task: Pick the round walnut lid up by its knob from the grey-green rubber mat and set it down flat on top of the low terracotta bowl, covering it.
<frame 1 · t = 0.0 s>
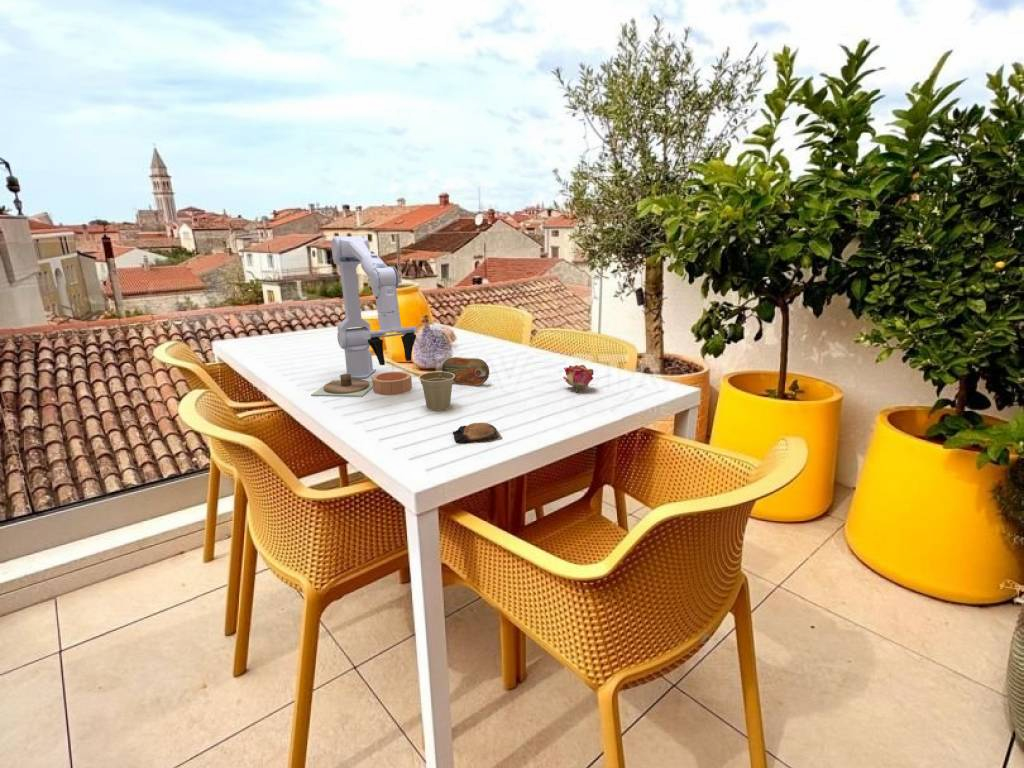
hand: (395, 362, 135), 11 cm above the table, tool pointing down, fingers open, 7 cm apart
rubber mat: (346, 388, 148), on the table
tin: (466, 384, 153), on the table
terracotta bowl: (392, 389, 147), on the table
walnut lid: (346, 381, 148), on the rubber mat
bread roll: (477, 438, 113), on the table
flower: (577, 390, 147), on the table
flower pot: (438, 408, 132), on the table
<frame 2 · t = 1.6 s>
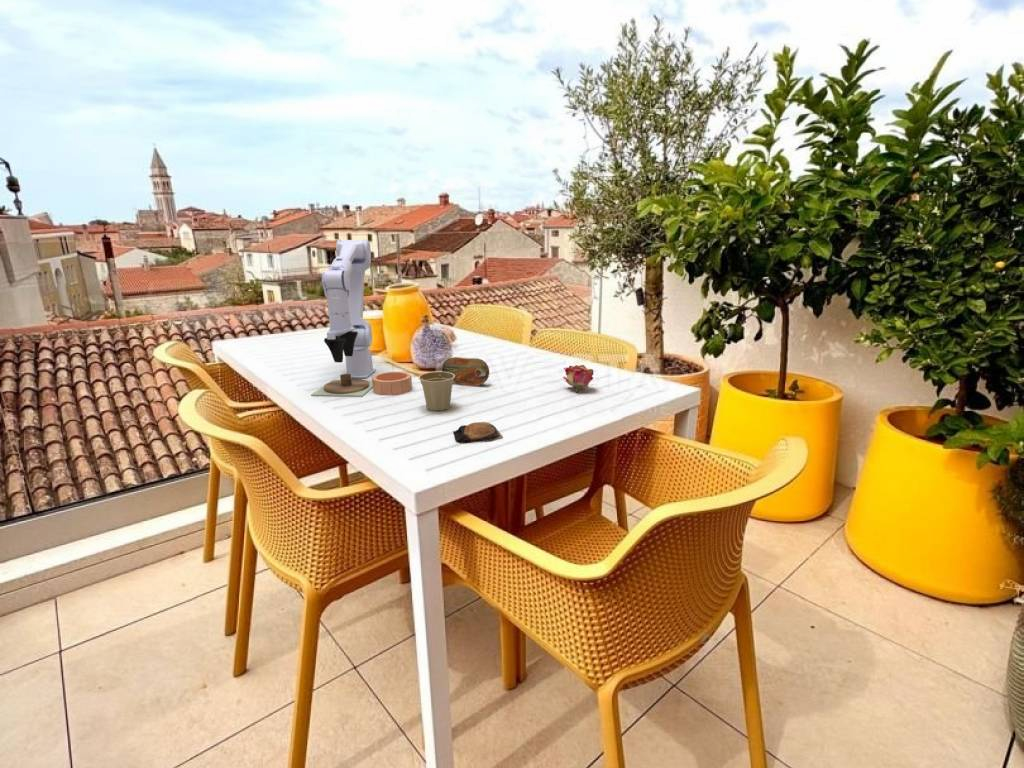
hand: (343, 359, 146), 9 cm above the table, tool pointing down, fingers open, 7 cm apart
nothing on the table moved.
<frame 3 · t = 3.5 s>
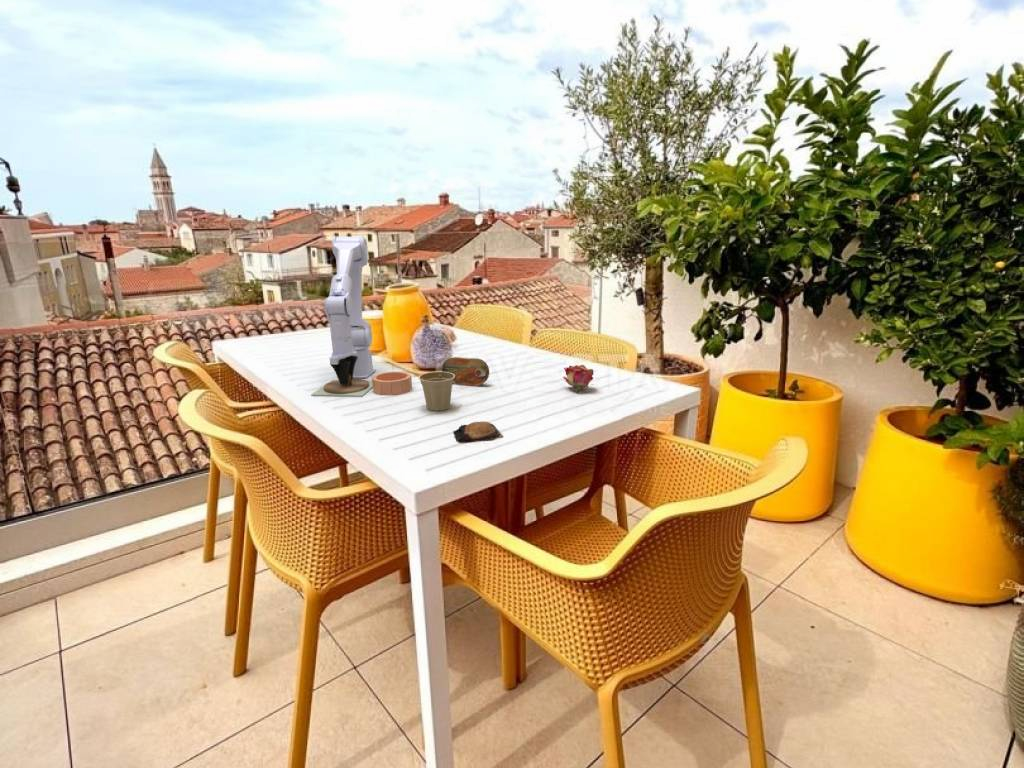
hand: (346, 382, 148), 2 cm above the table, tool pointing down, fingers closed on walnut lid, 3 cm apart
walnut lid: (346, 381, 148), on the rubber mat, touching gripper
everything else where it was.
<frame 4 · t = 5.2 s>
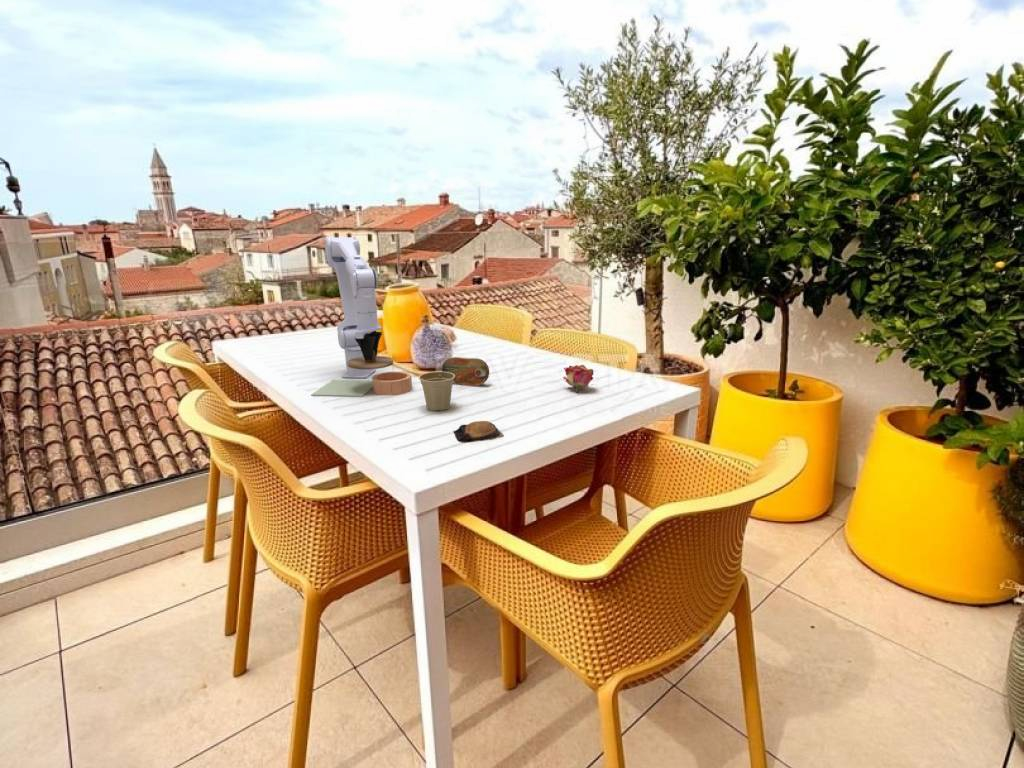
hand: (370, 358, 145), 9 cm above the table, tool pointing down, fingers closed on walnut lid, 3 cm apart
walnut lid: (370, 357, 145), point 10 cm above the table, touching gripper
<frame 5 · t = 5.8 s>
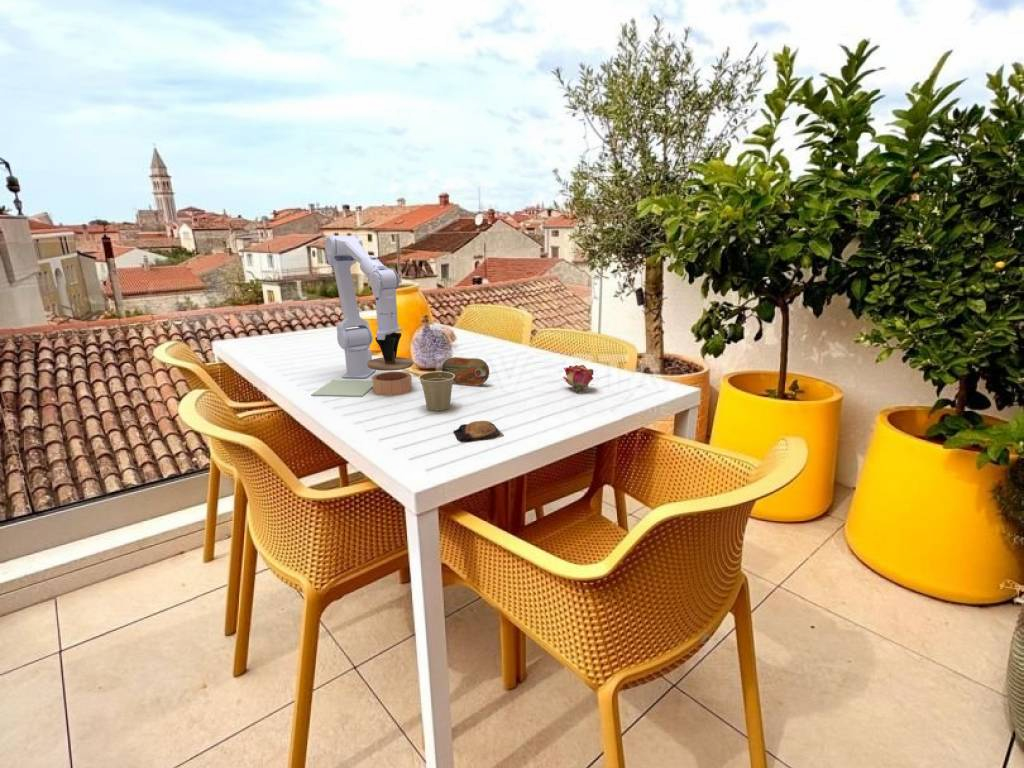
hand: (390, 359, 145), 9 cm above the table, tool pointing down, fingers closed on walnut lid, 3 cm apart
walnut lid: (389, 358, 145), point 10 cm above the table, touching gripper
when the fingers open (7 cm above the table, at t = 6.5 s): walnut lid stays where it is, resting on terracotta bowl.
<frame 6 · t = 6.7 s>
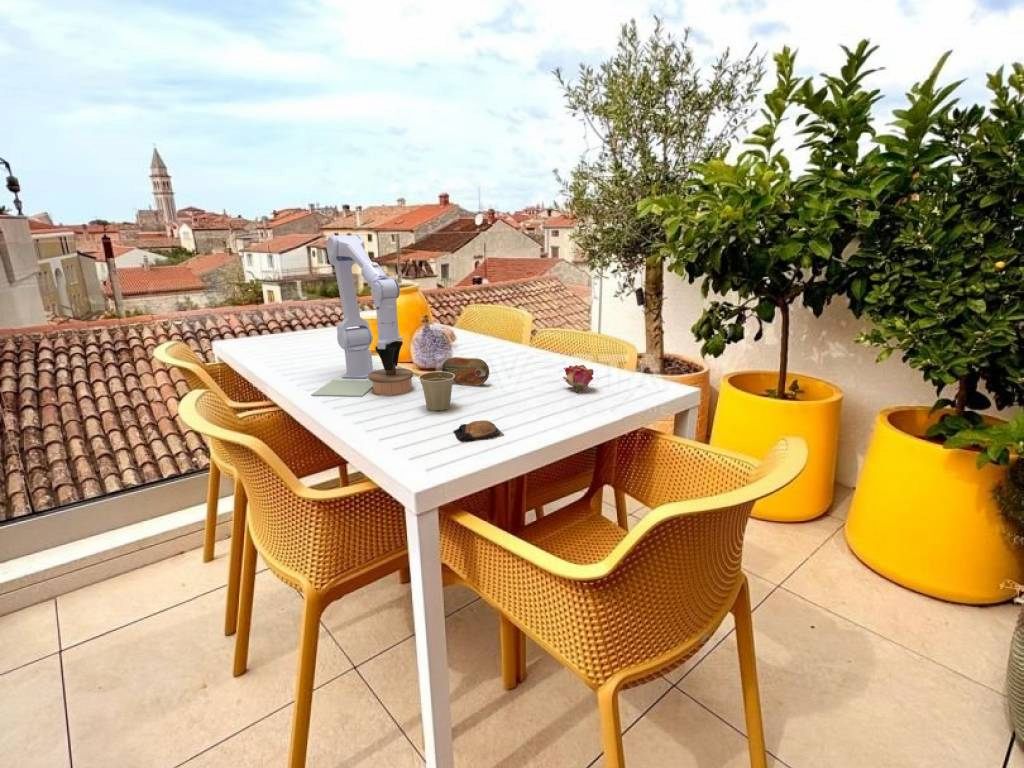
hand: (391, 367, 145), 7 cm above the table, tool pointing down, fingers open, 4 cm apart
walnut lid: (390, 370, 146), on the terracotta bowl, point 6 cm above the table
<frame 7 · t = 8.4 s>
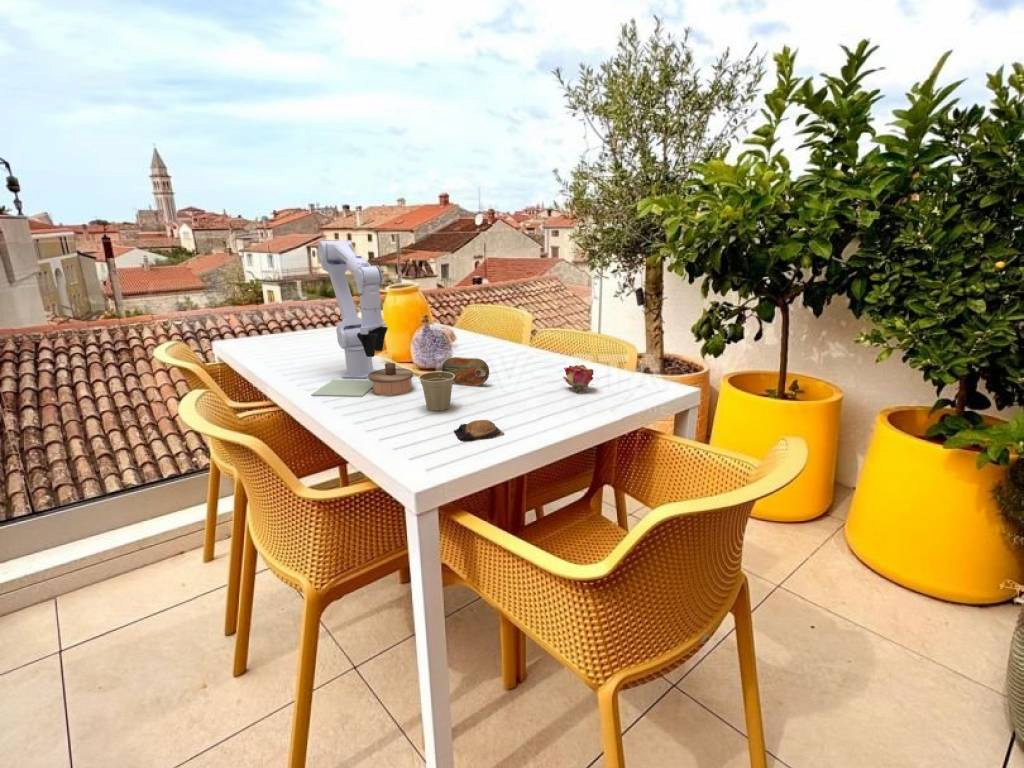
hand: (374, 353, 149), 10 cm above the table, tool pointing down, fingers open, 7 cm apart
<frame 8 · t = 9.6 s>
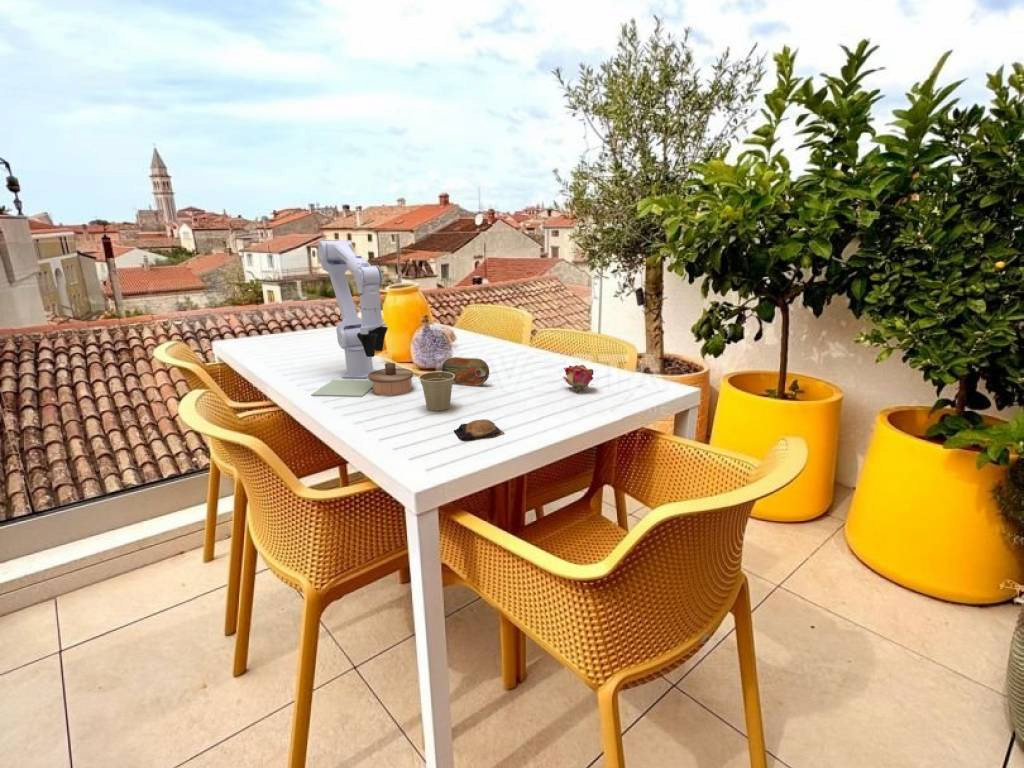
hand: (374, 353, 149), 10 cm above the table, tool pointing down, fingers open, 7 cm apart
at the end: walnut lid 0.2 cm off-centre on the terracotta bowl, point 5.9 cm above the terracotta bowl's base; walnut lid tilted 0°; the gripper is holding nothing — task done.
